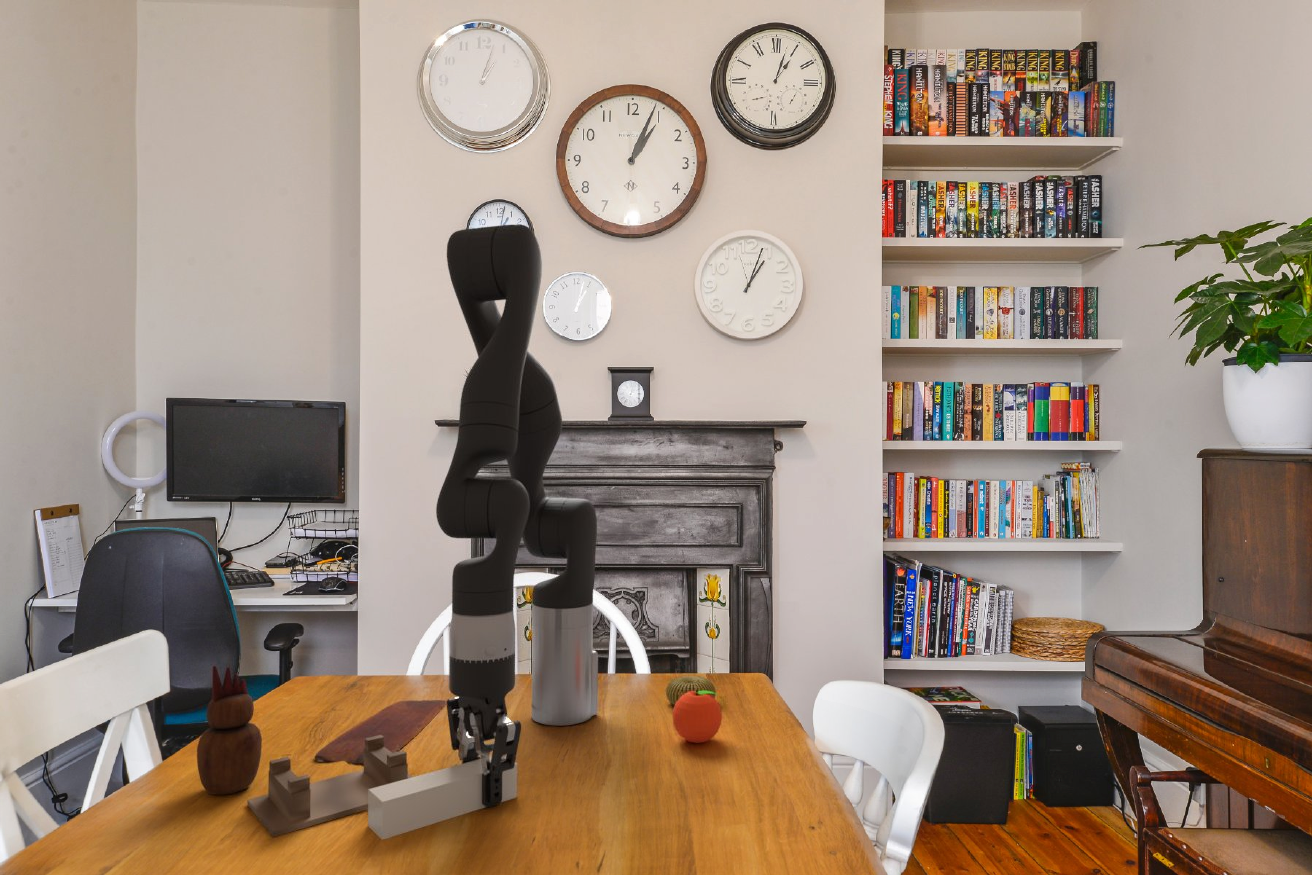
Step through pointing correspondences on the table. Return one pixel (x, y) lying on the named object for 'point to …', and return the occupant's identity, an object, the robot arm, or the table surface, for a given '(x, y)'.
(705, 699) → the clementine
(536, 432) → the robot arm
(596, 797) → the table surface
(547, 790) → the table surface
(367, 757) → the rack
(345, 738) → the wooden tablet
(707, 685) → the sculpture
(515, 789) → the white rectangular block
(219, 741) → the wooden figurine
